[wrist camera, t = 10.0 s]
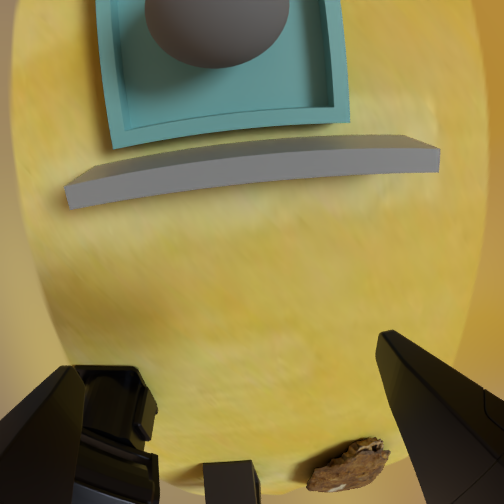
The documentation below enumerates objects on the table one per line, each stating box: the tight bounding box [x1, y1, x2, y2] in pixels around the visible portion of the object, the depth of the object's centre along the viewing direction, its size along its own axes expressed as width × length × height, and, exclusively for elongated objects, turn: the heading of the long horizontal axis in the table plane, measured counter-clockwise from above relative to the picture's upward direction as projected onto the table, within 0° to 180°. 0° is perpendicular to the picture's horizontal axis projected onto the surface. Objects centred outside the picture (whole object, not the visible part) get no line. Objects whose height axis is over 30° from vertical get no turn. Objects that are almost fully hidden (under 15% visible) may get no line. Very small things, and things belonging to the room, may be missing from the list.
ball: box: [145, 0, 290, 69], centre depth 10 cm, size 6×6×6 cm
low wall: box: [64, 135, 440, 210], centre depth 15 cm, size 18×1×4 cm, turn 95°
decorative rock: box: [306, 437, 391, 492], centre depth 34 cm, size 11×4×15 cm
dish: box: [96, 0, 350, 149], centre depth 13 cm, size 12×12×2 cm
